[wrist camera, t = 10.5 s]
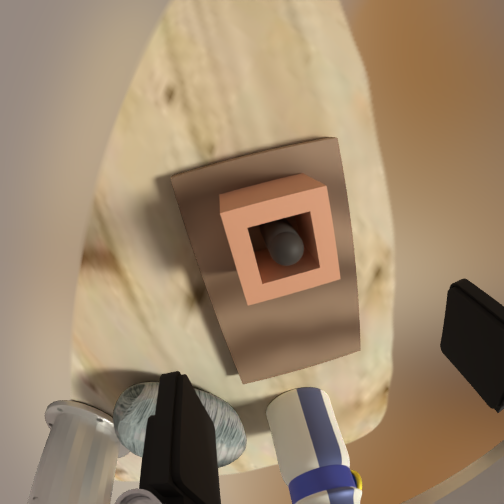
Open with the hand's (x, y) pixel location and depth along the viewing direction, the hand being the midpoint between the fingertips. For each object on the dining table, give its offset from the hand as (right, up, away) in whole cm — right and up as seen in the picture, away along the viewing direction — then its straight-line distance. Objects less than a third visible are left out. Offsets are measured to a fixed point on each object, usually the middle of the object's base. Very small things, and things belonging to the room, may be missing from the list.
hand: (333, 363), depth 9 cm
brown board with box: (0, +2, +16) cm, 16 cm away
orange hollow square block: (-1, +6, +13) cm, 14 cm away
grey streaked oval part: (-10, -12, +21) cm, 27 cm away
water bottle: (+3, -15, +24) cm, 28 cm away
